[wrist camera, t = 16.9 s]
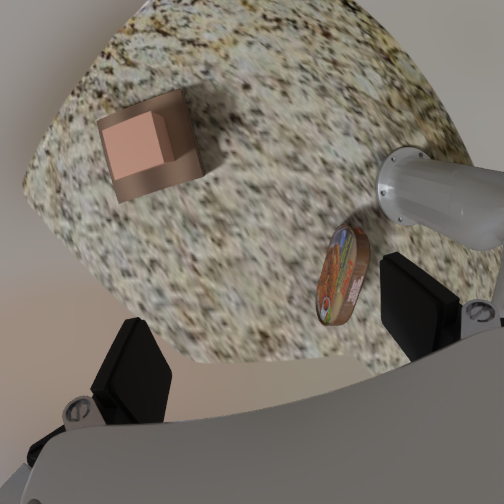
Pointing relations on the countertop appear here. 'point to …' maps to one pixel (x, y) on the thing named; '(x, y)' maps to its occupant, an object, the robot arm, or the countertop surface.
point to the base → (180, 140)
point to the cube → (138, 145)
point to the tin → (342, 275)
